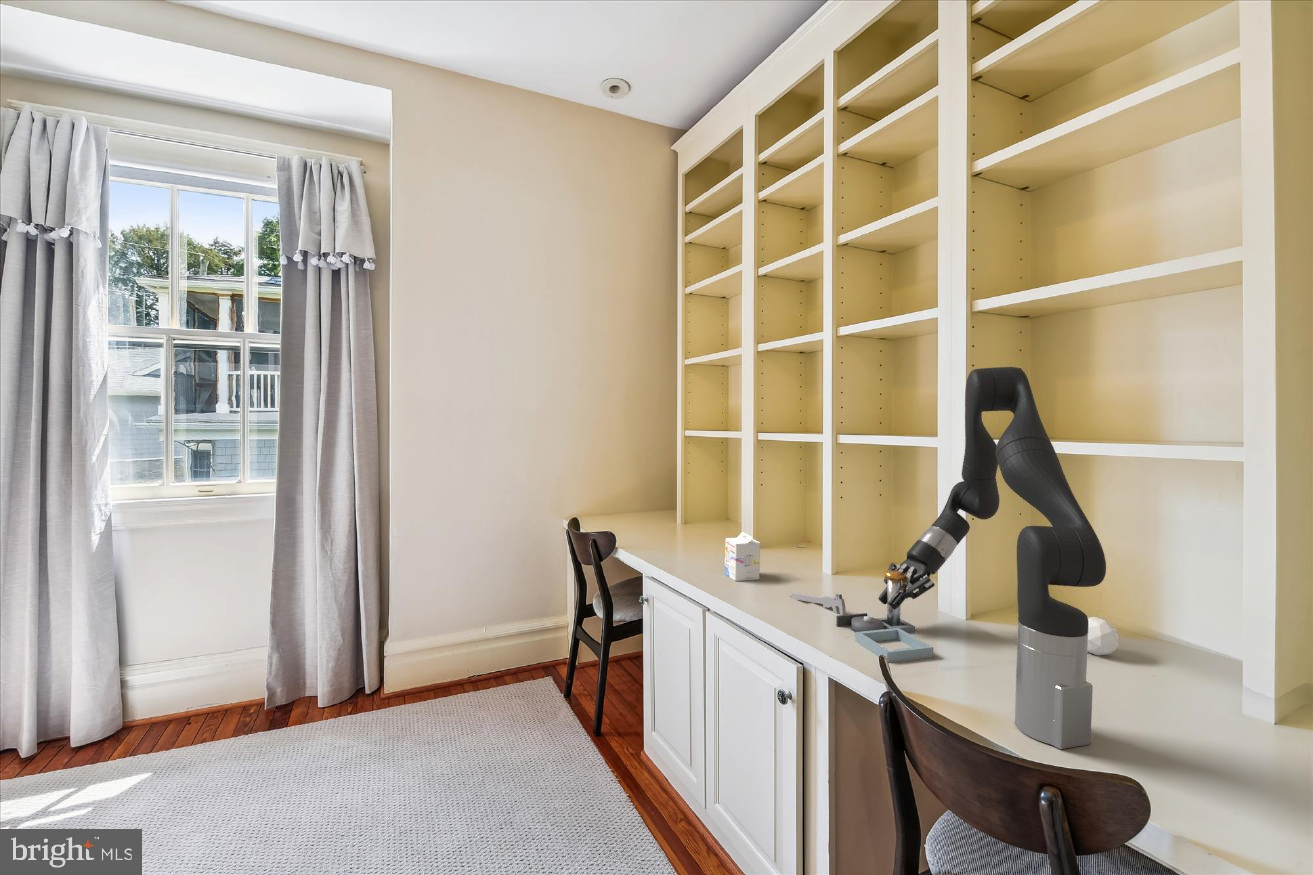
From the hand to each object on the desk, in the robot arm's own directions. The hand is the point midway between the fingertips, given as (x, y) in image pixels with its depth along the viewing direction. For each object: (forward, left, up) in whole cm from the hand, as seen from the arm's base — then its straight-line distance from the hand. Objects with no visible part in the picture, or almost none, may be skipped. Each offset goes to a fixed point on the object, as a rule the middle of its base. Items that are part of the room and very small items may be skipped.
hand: (886, 604), depth 133 cm
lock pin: (0, -2, -6) cm, 6 cm away
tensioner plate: (0, +1, -7) cm, 7 cm away
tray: (-10, +6, -7) cm, 14 cm away
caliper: (+20, +7, -7) cm, 22 cm away
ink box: (+51, +15, -7) cm, 53 cm away
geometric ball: (-20, -37, -7) cm, 43 cm away
